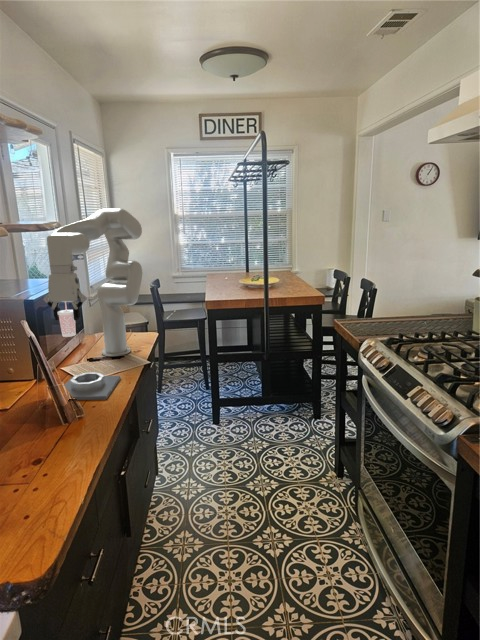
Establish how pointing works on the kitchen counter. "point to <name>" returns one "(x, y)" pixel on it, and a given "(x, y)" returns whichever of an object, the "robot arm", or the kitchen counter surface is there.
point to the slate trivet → (96, 394)
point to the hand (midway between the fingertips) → (67, 318)
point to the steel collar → (82, 385)
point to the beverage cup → (67, 322)
